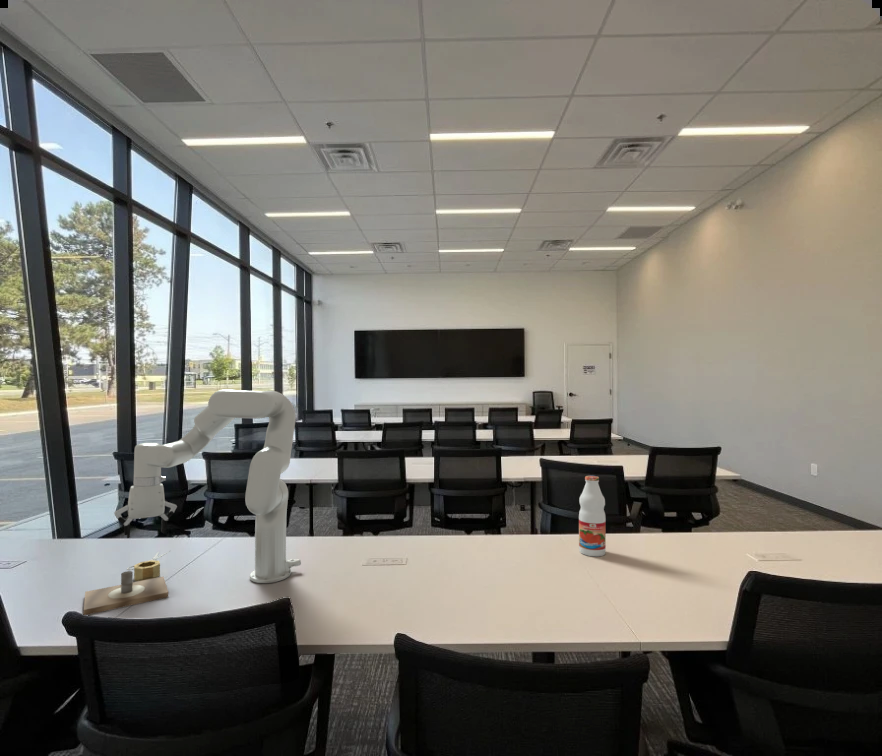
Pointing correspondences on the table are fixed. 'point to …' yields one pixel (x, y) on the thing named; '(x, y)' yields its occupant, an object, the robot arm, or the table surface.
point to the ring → (146, 570)
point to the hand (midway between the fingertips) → (145, 534)
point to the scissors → (151, 559)
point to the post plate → (125, 594)
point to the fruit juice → (592, 519)
